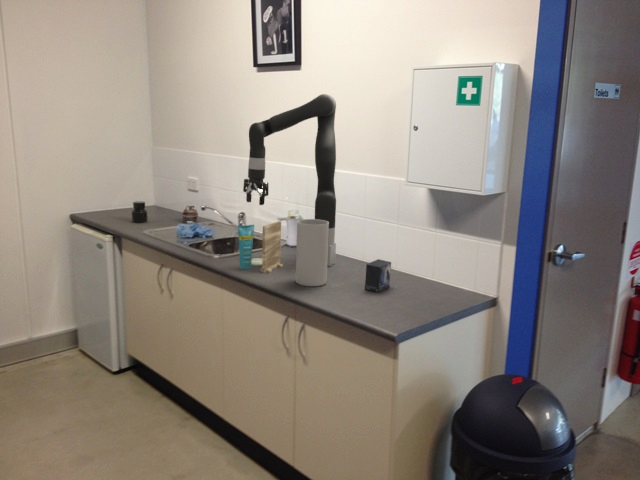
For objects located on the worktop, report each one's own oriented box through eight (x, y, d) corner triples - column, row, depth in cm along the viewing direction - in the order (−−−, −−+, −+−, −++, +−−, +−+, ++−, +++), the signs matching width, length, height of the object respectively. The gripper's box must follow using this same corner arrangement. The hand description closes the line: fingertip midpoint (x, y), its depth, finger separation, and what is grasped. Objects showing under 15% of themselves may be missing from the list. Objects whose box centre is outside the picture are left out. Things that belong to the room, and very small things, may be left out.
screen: (284, 266, 257) (284, 222, 252) (268, 273, 244) (269, 227, 240) (274, 264, 259) (275, 220, 254) (258, 271, 246) (258, 225, 242)
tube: (240, 270, 247) (240, 226, 243) (235, 267, 251) (235, 224, 247) (255, 268, 251) (256, 225, 247) (250, 265, 255) (251, 223, 251)
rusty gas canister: (180, 221, 352) (180, 205, 350) (196, 220, 356) (196, 204, 354) (183, 224, 344) (183, 207, 342) (199, 223, 348) (199, 207, 346)
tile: (275, 261, 263) (275, 260, 263) (263, 267, 254) (263, 265, 253) (254, 258, 268) (254, 257, 268) (241, 263, 258) (241, 262, 258)
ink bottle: (141, 219, 352) (141, 200, 350) (151, 221, 347) (150, 202, 345) (128, 221, 344) (127, 202, 342) (137, 223, 339) (136, 203, 337)
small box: (378, 292, 223) (380, 266, 220) (364, 289, 226) (365, 263, 224) (390, 286, 231) (392, 261, 229) (376, 283, 235) (377, 258, 232)
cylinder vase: (311, 276, 241) (313, 218, 236) (332, 283, 233) (335, 222, 227) (289, 281, 233) (290, 221, 227) (310, 289, 224) (312, 226, 219)
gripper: (273, 169, 256) (271, 205, 259) (252, 165, 265) (250, 200, 268) (261, 170, 250) (259, 206, 254) (239, 166, 259) (238, 201, 263)
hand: (255, 203), depth 261 cm, fingers open, 8 cm apart
